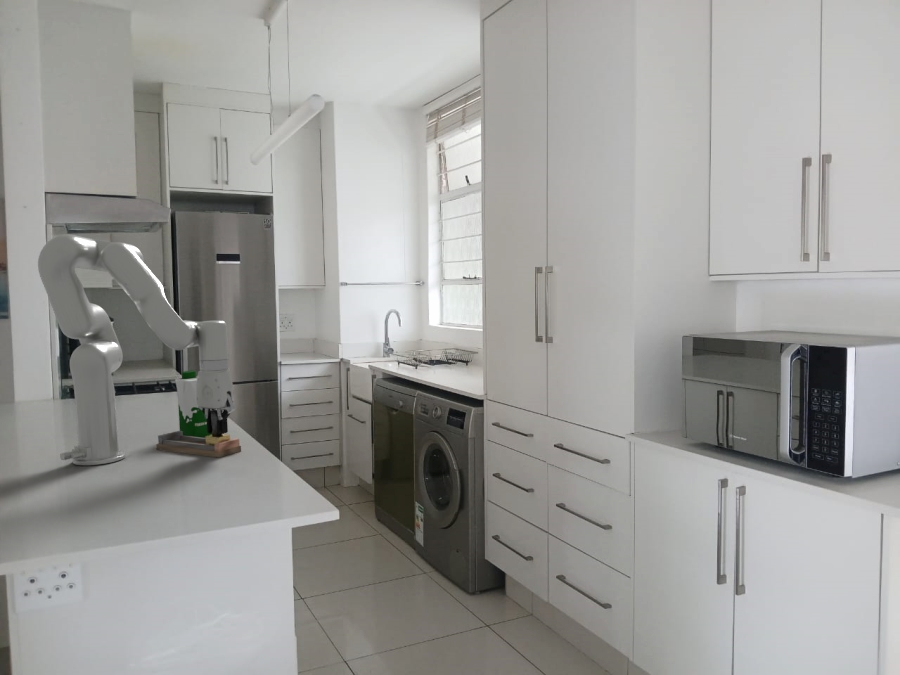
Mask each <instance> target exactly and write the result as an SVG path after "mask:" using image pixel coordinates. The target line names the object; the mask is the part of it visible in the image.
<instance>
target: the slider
mask: <svg viewBox="0 0 900 675" xmlns="http://www.w3.org/2000/svg"><path fill="white" fill-rule="evenodd" d="M217 420H219V419H218V413H217V409H215V410H211V428H212V435H209V436H206V437H205V438H206V445H214V444H215V443H219V442H223V441H227V440H231V435H230V434H228V433H224V434H220V435H219V434H217Z"/></svg>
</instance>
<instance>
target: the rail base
mask: <svg viewBox="0 0 900 675" xmlns="http://www.w3.org/2000/svg"><path fill="white" fill-rule="evenodd" d="M157 438H158V439H157V440H158V443H156V444H155V446H156V450H159V451H167V452H175V453H180V454H190V455H197V456H202V457H203V456H204V457H211V458H222V457H225V456H229V455H233V454H235V453H239V452H242V446H241V445H240V438H230V440H227V441H223V442H219V443H215V444H214V445H206V437H203V438H201V437H192V436H183V431H180V430H177V431H172V432H169V433H163V434H160V435H157Z"/></svg>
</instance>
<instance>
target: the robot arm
mask: <svg viewBox="0 0 900 675" xmlns="http://www.w3.org/2000/svg"><path fill="white" fill-rule="evenodd" d="M144 259H145V258H144V255H143V253H142V252H141V249H139V248H138V247H136V246H135V245H133V244H130V243H126V242H121V241H115V242H112V241H108V240H101V239H95V238H90V237H84V236H80V235H75V234H69V233H68V234H67V233H66V234H59V235H57V236H55V237H52V238H50V240H49V241H47V242H46V243H45V244H44V246H43V247H42V249H41V250H40V252H39V254H38V260H37V267H38V268H37V270H38V273H39V277H40V280H41V282H42V285H43V288H44V290H45V292H46V294H47V297H48V300H49V303H50V306H51V308H52V311H53V313H54V315H55V318H56V321H57V323H58V326H59V328H60V330H61V332H62V333H63V335H64V336H65V337H67V338H69V339H72V340H73V339H74V340H79V344H80V345H78V347H76V348H75V349H74V350H73V351H72V354H71V356H70V358H69V370H70V375H71V378H72V384H73V390H74V392H73V393H74V402H75V412H76V413H75V416H76V430H77V433H76V434H77V445H74V446H73V447H74V449H72V450H71V451H65V452H61V453H60V454H59V457H60V460H61V461H66V460H70V459H71V460H72V464H74V465H76V466H95V465H104V464H110V463H115V462H117V461H121V460H123V459H125V457H126V452H125V451H122V450H119V434H118V432H119V431H118V418H117V404H116V402H117V401H116V390H115V385H114V379H113V375H112V373H114V372H116V371H117V370H118V369H119V368H120V367H121V365H122V363H123V358H124V356H123V350H122V347H121V344H120V342H119V338H118V337H117V334H116V331H115V329H114V326H113V324H112V321H111V319H110V317H109V315H108V313H107V312H106V310H105V309H104V308H102V306H100V305H98V304H95V303H92V302H90V300H89V299H88V296H87V294H86V292H85V289H84V286H83V284H82V282H81V280H80V278H79V277H78V275H77V273H76V269H83V270H84V269H85V270H92V271H98V272H105V273H108V274H109V275H110V276H111V277H112V278H113V280H114V281H115V282H116V283H117V284H118V286H119V287H120V288H121V289H122V290H123V291H124V293H125V294H126V295H127V296H128V297H129V298H130V299H131V301H132V302H133V303H134V304H135V306H136V308H137V310H138V312H139V313H140V315H141V316H142V318H143V320H144V321H145V322H146V323H147V325H148V327H149V328H150V329H151V330H152V331H153V333H154V334H155V335H156V336H157V337H158V339H159V340H160V341H161V342H162V343H163V344H164V345H166V347H168V348H169V349H172V350H174V351H183V350H185V349H190V348H194V347H198V356H199V357H198V358H199V360H198V361H199V371H198V372H197V375H196V377H197V386H196V401H197V406H198V408H199V409H201V410H202V411H203V413H204V414H205V418H206V419H207V433H212V428H211V410H215V409H217V413H218V419H219V420H217V434H219V435H220V434H228V432H229V428H228V426H229V425H228V419H229V417H230V414H231V413H233V412H234V411H235V410H236V406H235V404H234V402H235V394H234V383H233V379H232V374H231V370H230V362H229V361H230V360H229V341H228V339H229V338H228V324H227V323H226V321H224V320H203V321H197V320H196V321H194V320H183V319H182V318H181V317H180V315H178V313H177V312H176V311H175V309H174V308H173V307H172V305H171V304H170V302H169V301H168V300H167V297H166V295H165V290H164V286H163V284H162V282H161V281H160V280H159V278H157V277H156V275H155V274H154V273H153V272H152V270H151V269H150V268H149V267H148V266H147V264H145V260H144ZM210 409H211V410H210Z"/></svg>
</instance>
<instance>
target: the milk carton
mask: <svg viewBox="0 0 900 675" xmlns="http://www.w3.org/2000/svg"><path fill="white" fill-rule="evenodd" d="M181 376H182V378H176V379H175V380H174V381H175V385H176V391H177V403H178V405H177V406H178V419H179V420H178V422H179V424H178V426H179V431H183V436H192V437H201V438H206V436H209V435H212V433H207V419H206V418H205V414H204V413H203V411H202V410H201V409H199V408H198V406H197V401H196V386H197V371H196V370H184V371H182V372H181ZM210 410H211V409H210Z"/></svg>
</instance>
